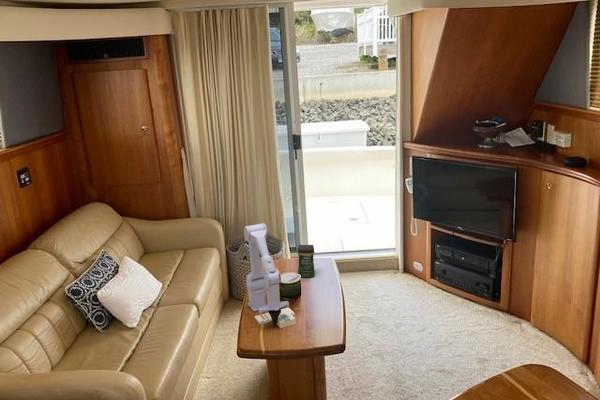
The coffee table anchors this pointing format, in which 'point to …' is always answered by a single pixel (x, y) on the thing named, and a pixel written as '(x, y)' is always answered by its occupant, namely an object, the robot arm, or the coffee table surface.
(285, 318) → the white and teal box
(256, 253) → the robot arm
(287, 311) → the board
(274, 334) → the coffee table surface
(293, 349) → the coffee table surface
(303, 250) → the coffee jar
